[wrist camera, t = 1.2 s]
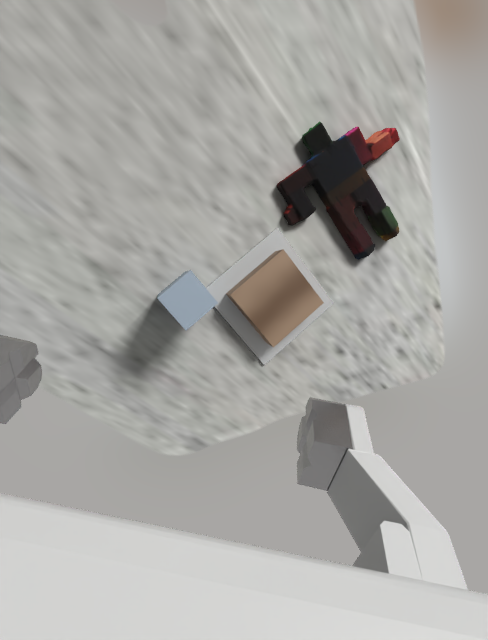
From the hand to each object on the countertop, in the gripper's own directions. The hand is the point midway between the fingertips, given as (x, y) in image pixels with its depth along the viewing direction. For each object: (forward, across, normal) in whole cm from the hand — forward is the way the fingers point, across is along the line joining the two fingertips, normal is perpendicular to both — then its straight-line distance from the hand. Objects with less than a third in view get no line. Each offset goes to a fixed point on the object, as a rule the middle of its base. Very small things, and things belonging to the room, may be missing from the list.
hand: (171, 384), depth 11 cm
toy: (+40, -10, +2) cm, 42 cm away
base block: (+31, -4, +13) cm, 34 cm away
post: (+28, +6, +14) cm, 32 cm away
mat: (+32, -4, +14) cm, 35 cm away
